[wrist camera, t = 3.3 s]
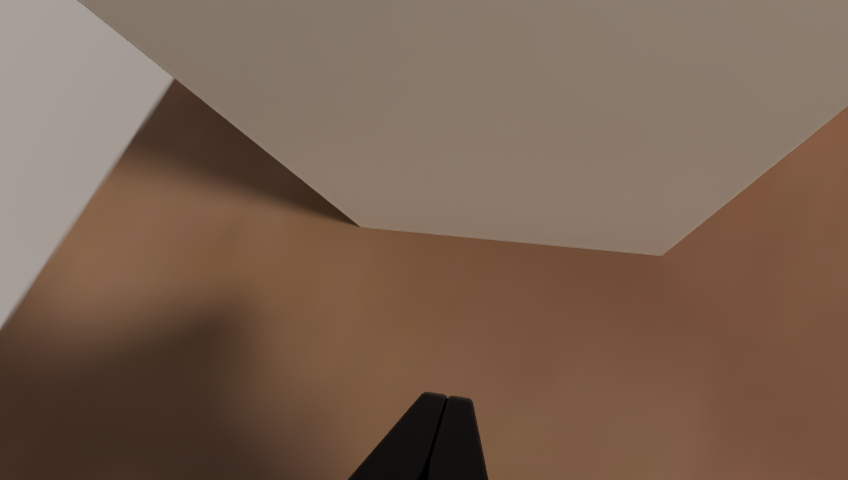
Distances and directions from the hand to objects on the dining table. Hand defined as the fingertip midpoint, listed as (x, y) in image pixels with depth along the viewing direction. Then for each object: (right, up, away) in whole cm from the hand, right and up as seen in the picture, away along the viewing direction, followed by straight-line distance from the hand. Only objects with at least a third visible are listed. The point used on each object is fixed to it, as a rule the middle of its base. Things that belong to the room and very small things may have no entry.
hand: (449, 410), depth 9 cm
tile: (+2, +4, +9) cm, 11 cm away
